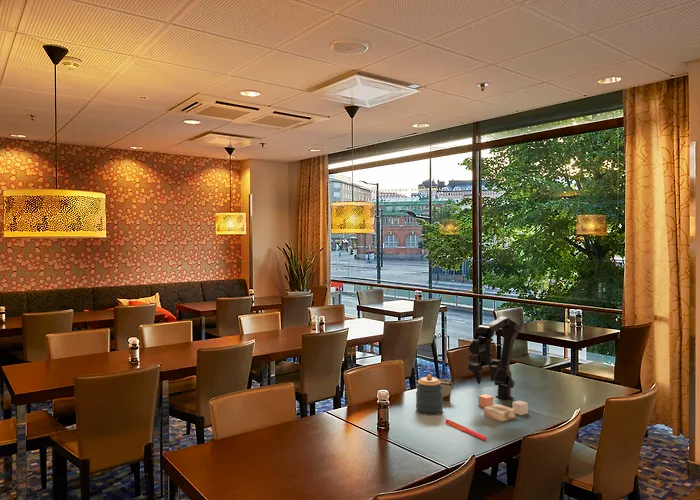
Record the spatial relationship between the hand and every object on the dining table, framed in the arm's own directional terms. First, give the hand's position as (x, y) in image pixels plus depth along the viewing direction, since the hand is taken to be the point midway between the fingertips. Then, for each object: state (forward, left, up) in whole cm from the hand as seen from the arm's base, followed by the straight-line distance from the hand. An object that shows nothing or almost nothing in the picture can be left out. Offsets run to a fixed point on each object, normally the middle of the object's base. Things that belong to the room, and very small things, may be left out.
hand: (485, 382), depth 259 cm
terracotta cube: (0, 0, -12) cm, 12 cm away
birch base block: (+6, +14, -12) cm, 20 cm away
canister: (+28, -10, -12) cm, 32 cm away
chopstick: (+32, +19, -12) cm, 40 cm away
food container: (+12, -20, -12) cm, 26 cm away
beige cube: (-6, +16, -12) cm, 21 cm away
